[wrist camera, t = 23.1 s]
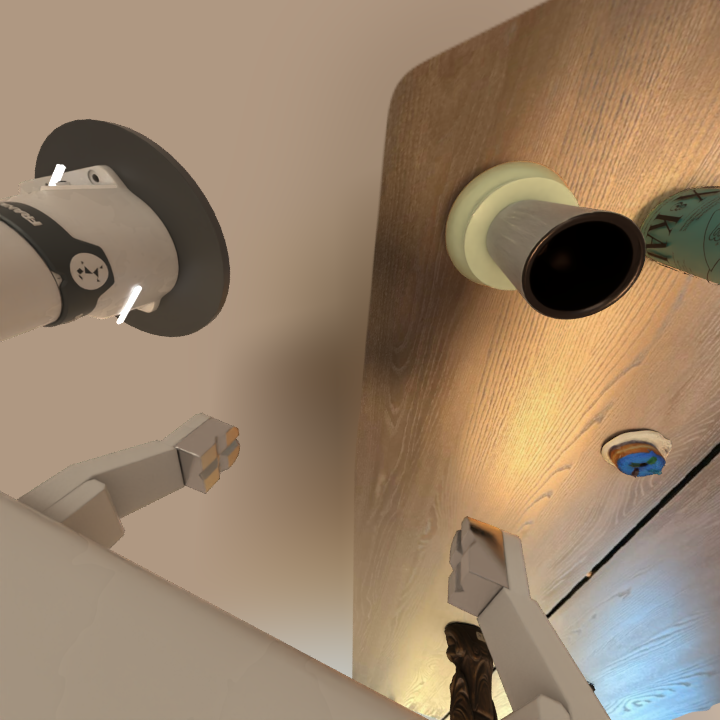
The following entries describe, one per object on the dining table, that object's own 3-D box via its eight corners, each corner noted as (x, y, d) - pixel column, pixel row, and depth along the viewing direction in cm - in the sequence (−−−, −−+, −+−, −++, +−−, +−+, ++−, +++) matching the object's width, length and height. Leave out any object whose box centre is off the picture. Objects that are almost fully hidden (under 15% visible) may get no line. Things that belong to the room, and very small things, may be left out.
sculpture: (435, 621, 84) (427, 806, 60) (466, 616, 76) (472, 825, 53) (469, 640, 85) (475, 828, 62) (503, 637, 78) (525, 850, 54)
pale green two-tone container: (434, 263, 35) (435, 296, 25) (454, 161, 29) (465, 150, 19) (524, 273, 33) (564, 313, 23) (561, 168, 28) (634, 159, 18)
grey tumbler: (566, 201, 20) (674, 215, 11) (541, 270, 22) (613, 326, 13) (495, 196, 20) (543, 206, 12) (478, 264, 23) (507, 313, 14)
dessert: (589, 464, 44) (625, 477, 38) (596, 420, 44) (632, 426, 38) (643, 475, 43) (688, 490, 37) (650, 431, 44) (694, 439, 38)
